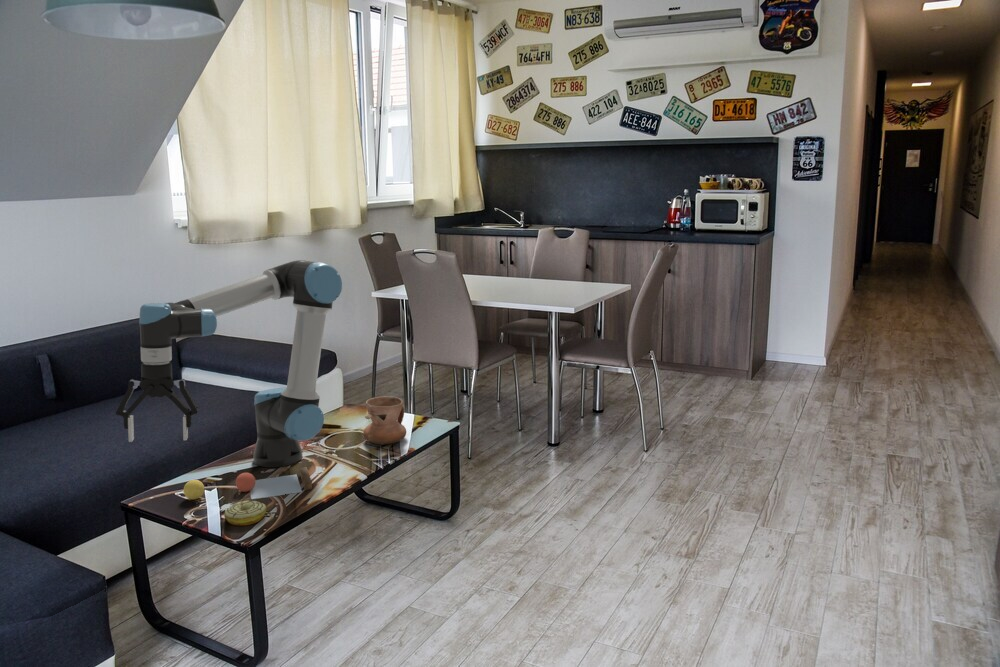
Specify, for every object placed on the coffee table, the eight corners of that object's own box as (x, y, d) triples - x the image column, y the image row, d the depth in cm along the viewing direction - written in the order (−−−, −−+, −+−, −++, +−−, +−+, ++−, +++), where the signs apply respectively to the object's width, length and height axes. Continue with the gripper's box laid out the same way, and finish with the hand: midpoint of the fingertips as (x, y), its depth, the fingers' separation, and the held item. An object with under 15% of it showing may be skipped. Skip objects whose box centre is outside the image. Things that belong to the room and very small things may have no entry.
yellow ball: (205, 493, 228) (203, 475, 226) (205, 500, 222) (203, 482, 221) (184, 496, 226) (182, 478, 225) (184, 503, 221) (182, 485, 219)
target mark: (296, 474, 240) (296, 474, 240) (301, 492, 227) (301, 491, 227) (248, 481, 236) (248, 481, 236) (251, 499, 223) (251, 499, 223)
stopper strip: (307, 474, 240) (306, 466, 240) (312, 489, 229) (311, 481, 229) (300, 475, 240) (299, 467, 239) (305, 490, 229) (304, 482, 228)
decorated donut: (262, 507, 218) (261, 494, 217) (270, 522, 209) (269, 509, 208) (223, 515, 213) (221, 502, 213) (229, 531, 204) (228, 517, 203)
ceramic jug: (382, 452, 258) (381, 410, 256) (352, 443, 267) (350, 402, 264) (419, 437, 273) (419, 398, 270) (389, 429, 281) (388, 391, 278)
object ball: (255, 486, 232) (254, 468, 231) (256, 493, 227) (255, 475, 226) (236, 488, 230) (234, 471, 229) (236, 496, 225) (235, 478, 224)
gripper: (101, 365, 202) (104, 445, 205) (204, 364, 208) (205, 442, 211) (108, 359, 209) (111, 436, 212) (208, 359, 215) (209, 434, 218)
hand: (158, 439), depth 212 cm, fingers open, 13 cm apart
